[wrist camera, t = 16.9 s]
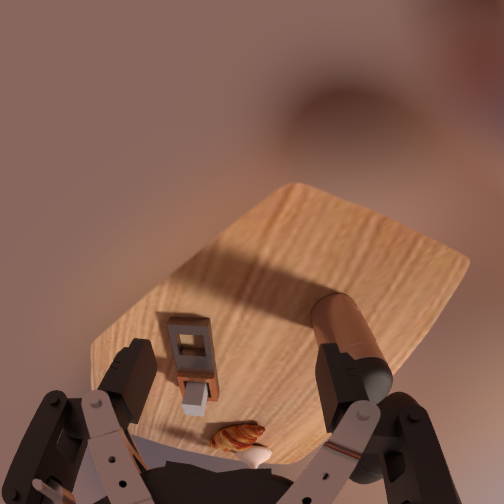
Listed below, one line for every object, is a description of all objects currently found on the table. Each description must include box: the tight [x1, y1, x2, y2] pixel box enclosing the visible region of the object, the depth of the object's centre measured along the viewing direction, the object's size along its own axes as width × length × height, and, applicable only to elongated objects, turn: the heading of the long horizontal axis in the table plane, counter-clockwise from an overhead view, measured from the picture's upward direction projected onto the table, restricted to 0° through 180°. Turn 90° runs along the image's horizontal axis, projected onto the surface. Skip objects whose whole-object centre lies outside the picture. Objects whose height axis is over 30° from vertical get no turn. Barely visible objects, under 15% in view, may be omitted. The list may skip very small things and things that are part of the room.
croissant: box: [208, 424, 265, 451], centre depth 64 cm, size 21×10×8 cm, turn 131°
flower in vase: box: [236, 446, 272, 469], centre depth 59 cm, size 13×11×25 cm
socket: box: [167, 317, 219, 401], centre depth 53 cm, size 22×8×4 cm, turn 1°
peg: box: [182, 381, 209, 416], centre depth 53 cm, size 4×4×10 cm
